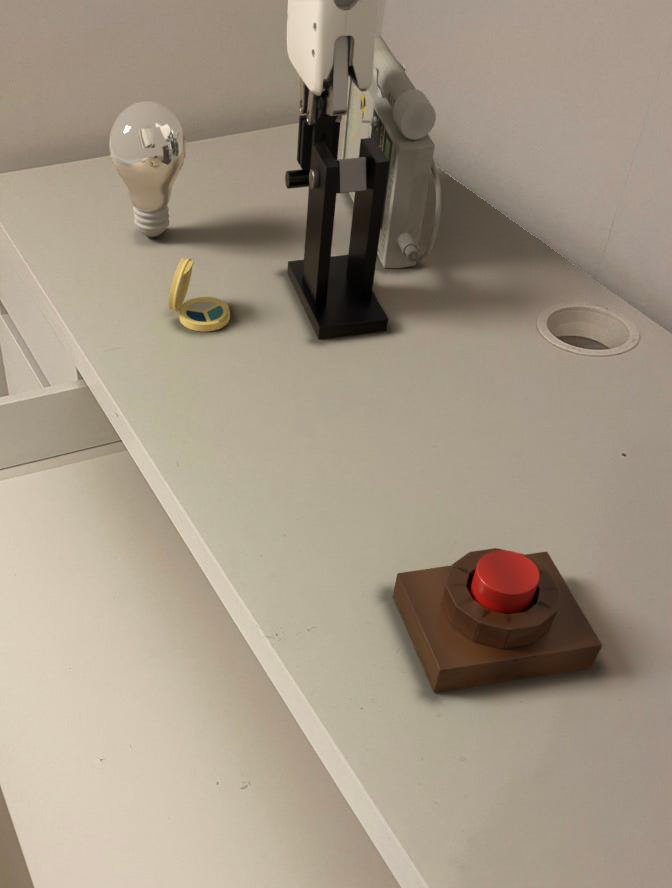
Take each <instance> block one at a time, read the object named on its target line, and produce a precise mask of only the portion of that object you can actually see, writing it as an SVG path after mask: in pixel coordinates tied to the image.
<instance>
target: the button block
mask: <svg viewBox="0 0 672 888" xmlns="http://www.w3.org/2000/svg"><path fill="white" fill-rule="evenodd" d="M498 550H504V549H502V548H497V547H494V548H487V549H480V550H475V551H469V552H467V553H465V555H463V556H462V557H461V558H459V559H457V560H456V561H455V562H454V563H452V564H451V565H444V566H438V567H437V566H436V567H430V568H423V569H416V570H412V571H410V570H409V571H403V572H397V574H396V577H395V583H394V588H393V592H392V599H393V601H394V603H395V605H396V608H397V610H398V613H399V615H400V617H401V620H402V623H403V625H404V626H405V630H406V631H407V633H408V634H407V635H408V636H409V638H410V641H411V643H412V645H413V648H414V649H415V652H416V655H417V657H418V659H419V662H420V664H421V666H422V669H423V671H424V673H425V675H426V678H427V680H428V682H429V685H430V687H431V690H432V692H433V693H434V694H436V693H441V692H448V691H456V690H460V689H467V688H474V687H478V686H480V687H481V686H485V685H492V684H498V683H503V682H511V681H517V680H523V679H528V678H530V679H531V678H535V677H542V676H547V675H556V674H559V673H560V674H561V673H566V672H572V671H579V670H584V669H585V670H586V669H591V668H593V666H594V664H595V662H596V660H597V657H598V655H599V653H600V651H601V649H602V647H603V643H602V641H601V640H600V638H599V636H598V635H597V633H596V631H595V630H594V628H593V626H592V624H591V622H590V621H589V620H588V618H587V615H586V614H585V613H584V611H583V609H582V608H581V606H580V604H579V602H578V601H577V599H576V597H575V595H574V594H573V593H572V591H571V589H570V587H569V585H568V584H567V582H566V581H565V579H564V578H563V575H562V574H561V572H560V571H559V569H558V567H557V566H556V564H555V562H554V560H553V558H552V557H551V555H550V553H549V552H548V551H540V552H532V553H525V554H524V553H521V552H518V553H519V554H522V555H524V556H525V557H527V558H529V559H530V560H531V561H532V562H533V563H534V564H535V565H536V567H537V569H538V571H539V575H540V578H539V582H538V585H537V588H536V591H535V593H534V596H533V599H532V602H531V603H530V605H529V606H528V607H527V608H526V609H524V610H522V611H520V612H517V613H513V614H504V613H499V612H495V611H491V610H488V609H486V608H485V607H484V606H482V605H481V604H479V603H478V602H477V601H476V600H475V598H474V597H473V595H472V591H471V584H472V580H473V577H474V573H475V570H476V566H477V563H478V561H479V560H480V559H481V557H483V556H484V555H485V554H487V553H489V552H493V551H498Z"/></svg>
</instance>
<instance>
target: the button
mask: <svg viewBox="0 0 672 888" xmlns="http://www.w3.org/2000/svg"><path fill="white" fill-rule="evenodd" d="M519 553H520V552H516V551H512V550H507V549H503V550H498V551H493V552H489V553H487V554H485V555H484V556H483V557H481V559H480V560H479V561H478V563H477V566H476V570H475V573H474V577H473V580H472V584H471V591H472V595H473V597H474V598H475V600H476V601H477V602H478V603H479V604H481V605H482V606H484V607H485V608H486V609H488V610H491V611H495V612H499V613H504V614H513V613H517V612H520V611H522V610H524V609H526V608H527V607H528V606H529V605H530V603H531V602H532V599H533V596H534V593H535V591H536V588H537V585H538V582H539V578H540V575H539V571H538V569H537V567H536V565H535V564H534V563H533V562H532V561H531V560H530V559H529V558H527V557H525V556H524V555H525V554H524V555H522V554H523V553H521V554H519Z"/></svg>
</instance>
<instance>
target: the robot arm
mask: <svg viewBox="0 0 672 888" xmlns="http://www.w3.org/2000/svg"><path fill="white" fill-rule="evenodd" d="M377 12H378V0H287V12H286V13H287V14H286V51H287V56H288V59H289V61H290V64H292V67H293V68H294V70H295V71H296V72H297V74H298V76H299V112H300V114H301V115H298V134H297V152H296V162H297V163H298V165H299V167H300V168H301V169H302V170H303V171H309V170H310V166H311V152H312V144H315V143H324V144H325V145H326V147H327V148H328V150H329V152H330V153H331V155H332V156H333V158H334V160H338V157H339V155H338V154H339V143H340V133H341V122H342V119H343V116H345V115H346V114H347V98H348V81H349V77H350V78H351V80H352V81H353V82H354V84H355V85H356V86H357V87H358V89H359V90H360V91H362V92H364V91H367V90H368V89H369V88H370V86H371V83H372V75H373V62H374V47H375V34H376V29H377V15H378V13H377Z"/></svg>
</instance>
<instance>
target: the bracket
mask: <svg viewBox="0 0 672 888" xmlns="http://www.w3.org/2000/svg"><path fill="white" fill-rule="evenodd" d="M360 157H366V183H367V190H366V191H358V192H355V197H354V202H353V208H352V218H351V226H350V234H349V246H348V252H347V253H348V254H342V255H332V247H333V235H334V225H335V212H336V202H337V194H338V193H337V183H338V172H339V166H338V164H337V163H336V161H335V160H334V158H333V156H332V155H331V153H330V152H329V150H328V148H327V147H326V145H325V144H324V143H315V144H312V152H311V166H310V173H309V187H308V196H307V208H306V209H307V210H306V221H305V222H306V225H305V240H304V251H303V252H304V253H303V259H297V260H296V259H295V260H289V261H287V271H286V274H287V276H288V278H289V280H290V283H291V285H292V286H293V289H294V291H295V294H297V297H298V299H299V301H300V304H301V306H302V308H303V310H304V312H305V314H306V316H307V318H308V320H309V322H310V325H311V327H312V329H313V331H314V333H315V335H316V338H317V340H325V339H334V338H342V337H350V336H358V335H366V334H375V333H376V334H377V333H383V332H387V331H388V326H389V317H388V315H387V314H386V312H385V309H384V308H383V306H382V305H381V302H380V301H379V300H378V298H377V296H376V294H375V293H374V291H373V290H374V289H373V288H374V281H375V275H376V274H375V273H376V265H377V259H378V254H377V251H378V243H379V236H380V228H381V221H382V213H383V205H384V198H385V190H386V182H387V175H388V167H389V160H388V159H387V158H386V156H385V155H384V153H383V152H382V150H381V149H380V148H379V146H378V145H377V143H376V142H375V141H374V139H373V138H365V139H361V141H360V151H359V158H360Z"/></svg>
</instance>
